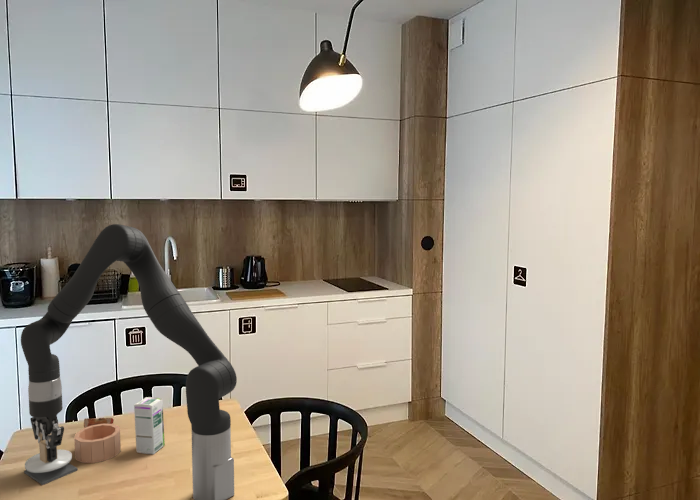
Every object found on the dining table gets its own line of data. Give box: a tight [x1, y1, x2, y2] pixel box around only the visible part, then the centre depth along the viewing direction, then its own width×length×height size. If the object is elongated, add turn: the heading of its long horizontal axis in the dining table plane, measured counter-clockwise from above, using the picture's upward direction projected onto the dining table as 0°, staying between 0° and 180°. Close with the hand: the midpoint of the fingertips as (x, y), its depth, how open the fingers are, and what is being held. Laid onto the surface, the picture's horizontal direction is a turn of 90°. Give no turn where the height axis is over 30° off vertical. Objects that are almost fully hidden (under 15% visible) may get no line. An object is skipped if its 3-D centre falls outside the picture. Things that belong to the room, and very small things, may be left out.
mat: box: [23, 462, 79, 486], centre depth 140 cm, size 10×9×1 cm
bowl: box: [73, 423, 122, 464], centre depth 150 cm, size 12×12×6 cm
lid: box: [24, 440, 73, 473], centre depth 139 cm, size 11×11×6 cm
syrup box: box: [133, 396, 166, 455], centre depth 152 cm, size 6×6×14 cm
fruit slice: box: [83, 417, 115, 428], centre depth 163 cm, size 8×7×5 cm
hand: (48, 457), depth 139 cm, fingers closed on lid, 3 cm apart
